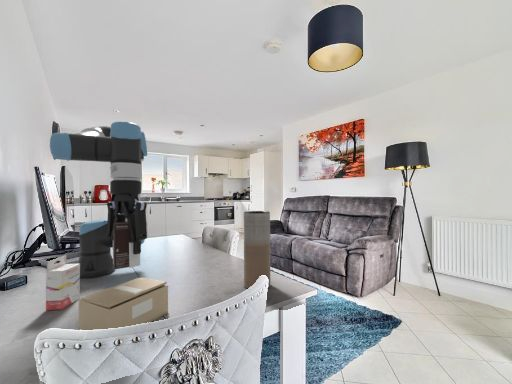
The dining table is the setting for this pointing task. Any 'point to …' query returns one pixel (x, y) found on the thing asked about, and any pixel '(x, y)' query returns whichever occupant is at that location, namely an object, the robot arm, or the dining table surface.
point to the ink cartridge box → (61, 284)
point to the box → (121, 244)
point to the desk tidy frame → (70, 255)
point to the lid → (123, 292)
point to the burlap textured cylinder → (256, 246)
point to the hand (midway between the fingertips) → (126, 264)
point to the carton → (125, 311)
